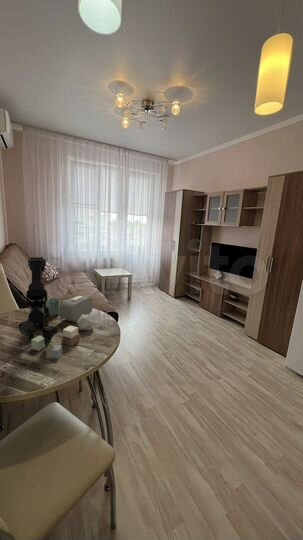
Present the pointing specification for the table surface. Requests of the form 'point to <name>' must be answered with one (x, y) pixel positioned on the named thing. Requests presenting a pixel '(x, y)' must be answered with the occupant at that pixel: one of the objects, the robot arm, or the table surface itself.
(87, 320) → the die
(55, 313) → the cup
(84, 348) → the table surface
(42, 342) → the sage cube
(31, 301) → the robot arm
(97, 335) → the table surface
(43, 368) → the table surface
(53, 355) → the slate cube
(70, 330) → the tower top
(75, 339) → the tower base
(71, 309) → the alarm clock
